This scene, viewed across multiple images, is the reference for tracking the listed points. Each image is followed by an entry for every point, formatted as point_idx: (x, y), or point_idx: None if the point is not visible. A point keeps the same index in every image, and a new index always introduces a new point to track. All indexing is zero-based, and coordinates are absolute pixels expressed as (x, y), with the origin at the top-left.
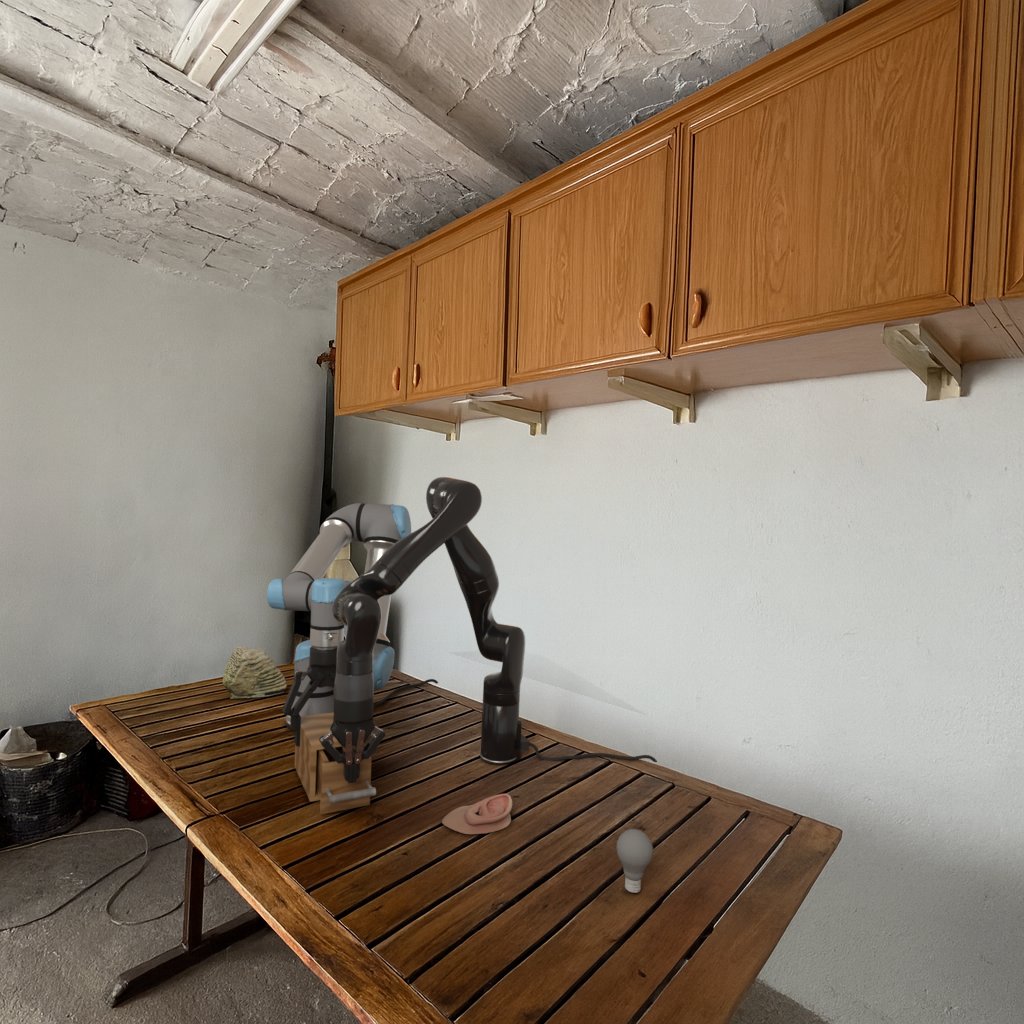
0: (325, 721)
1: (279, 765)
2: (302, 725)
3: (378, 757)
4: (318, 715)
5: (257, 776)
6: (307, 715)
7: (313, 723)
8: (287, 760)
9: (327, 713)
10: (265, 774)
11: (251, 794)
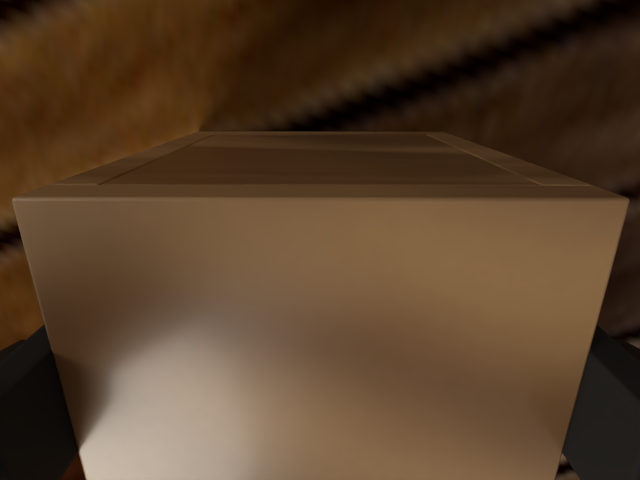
0: (324, 446)
1: (121, 84)
2: (95, 470)
3: (623, 180)
4: (289, 251)
5: (22, 181)
6: (155, 203)
7: (202, 458)
8: (164, 26)
9: (413, 219)
10: (58, 172)
11: (23, 338)
